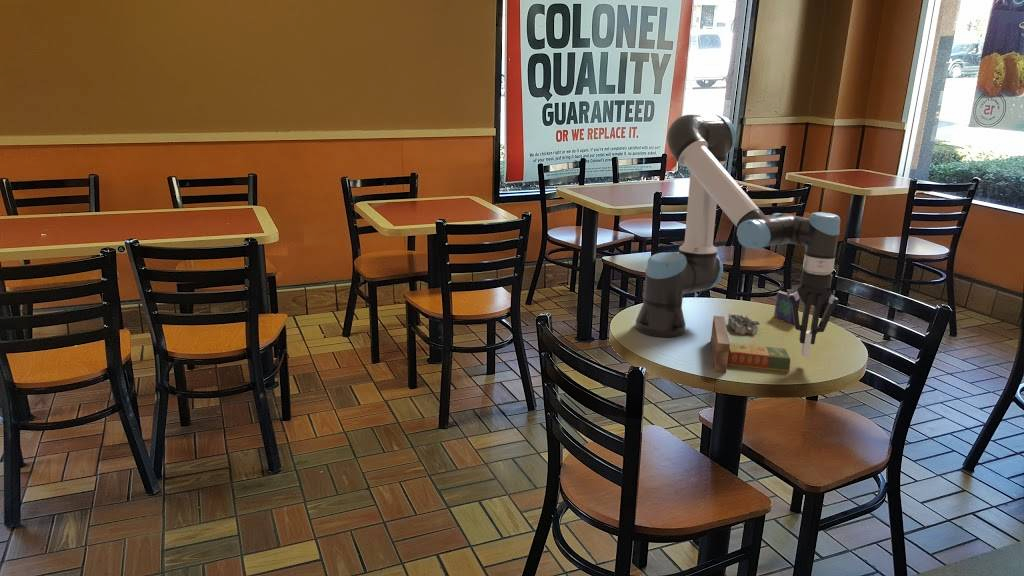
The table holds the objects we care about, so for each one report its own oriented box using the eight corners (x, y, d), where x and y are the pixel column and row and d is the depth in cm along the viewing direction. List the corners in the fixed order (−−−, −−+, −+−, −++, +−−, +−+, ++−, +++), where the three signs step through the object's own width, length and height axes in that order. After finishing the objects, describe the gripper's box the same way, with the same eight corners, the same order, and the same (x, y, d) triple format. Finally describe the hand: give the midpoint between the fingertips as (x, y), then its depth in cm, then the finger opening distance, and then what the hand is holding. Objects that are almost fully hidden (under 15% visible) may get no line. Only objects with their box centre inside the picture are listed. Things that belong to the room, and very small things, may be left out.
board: (714, 371, 197) (718, 343, 194) (710, 341, 219) (713, 315, 217) (726, 372, 196) (729, 344, 194) (720, 342, 219) (724, 316, 216)
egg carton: (759, 336, 226) (761, 323, 225) (735, 335, 226) (736, 322, 225) (748, 324, 237) (750, 312, 235) (725, 323, 236) (726, 311, 235)
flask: (771, 316, 244) (776, 285, 241) (778, 315, 245) (783, 285, 242) (792, 325, 236) (797, 293, 233) (799, 324, 237) (804, 293, 234)
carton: (725, 355, 209) (727, 341, 208) (784, 361, 207) (786, 347, 205) (728, 366, 202) (729, 351, 200) (789, 372, 199) (791, 357, 198)
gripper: (793, 272, 193) (781, 356, 200) (846, 277, 191) (832, 362, 197) (789, 266, 200) (778, 347, 207) (840, 270, 198) (827, 352, 204)
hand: (804, 354), depth 202 cm, fingers closed
